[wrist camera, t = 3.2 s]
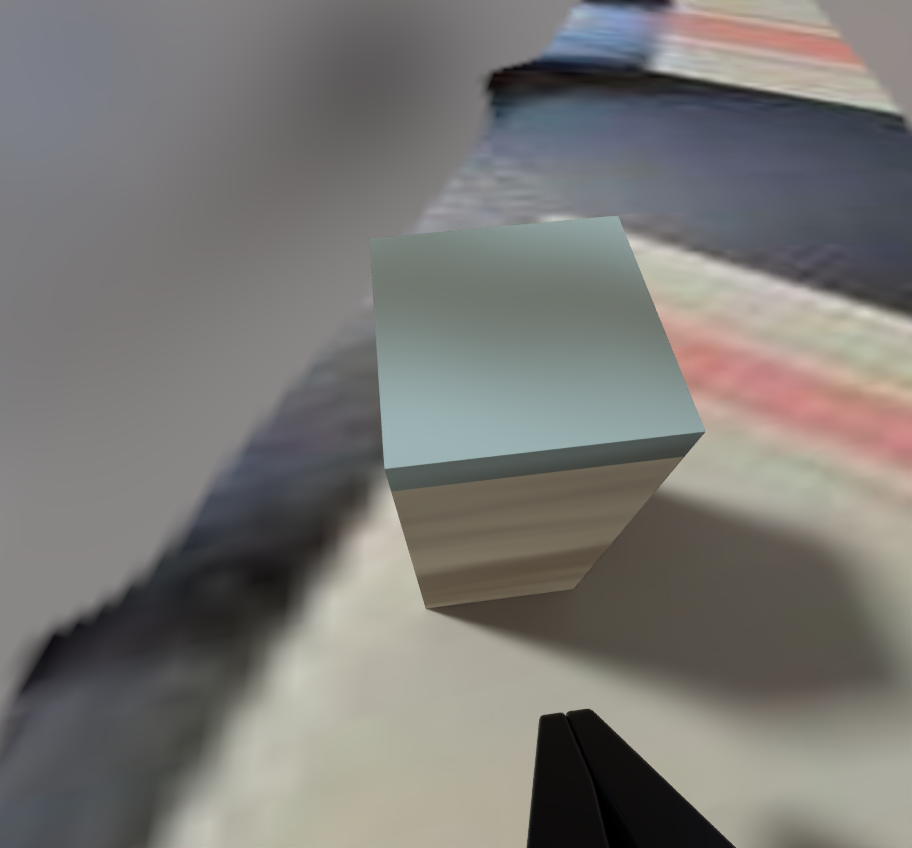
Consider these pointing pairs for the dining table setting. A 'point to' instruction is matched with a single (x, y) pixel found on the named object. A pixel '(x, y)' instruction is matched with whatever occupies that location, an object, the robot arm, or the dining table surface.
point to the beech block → (521, 402)
